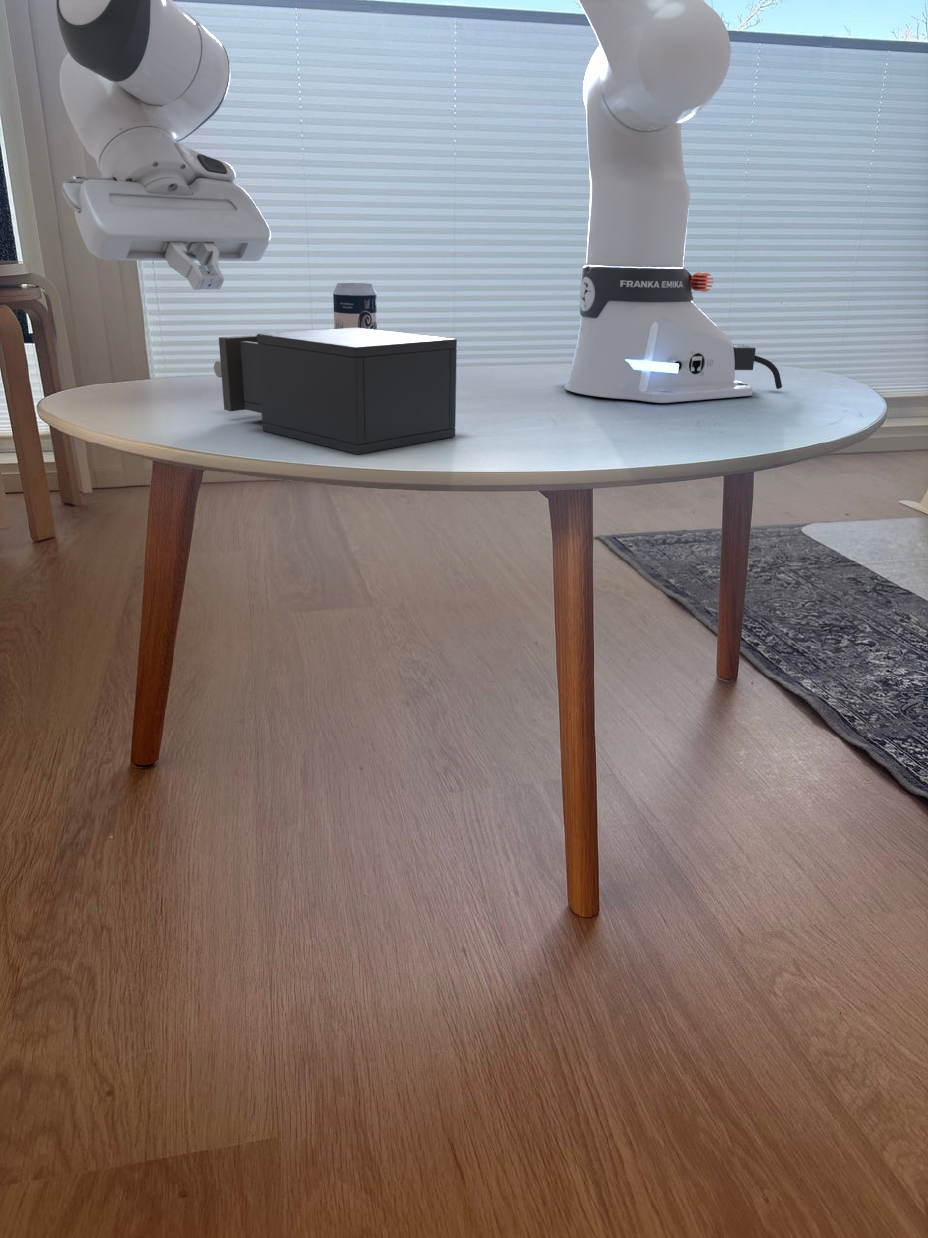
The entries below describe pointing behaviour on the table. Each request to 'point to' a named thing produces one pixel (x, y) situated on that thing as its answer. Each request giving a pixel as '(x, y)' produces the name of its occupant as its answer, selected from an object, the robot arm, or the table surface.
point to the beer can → (355, 306)
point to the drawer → (239, 373)
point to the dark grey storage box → (358, 387)
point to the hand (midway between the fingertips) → (209, 285)
